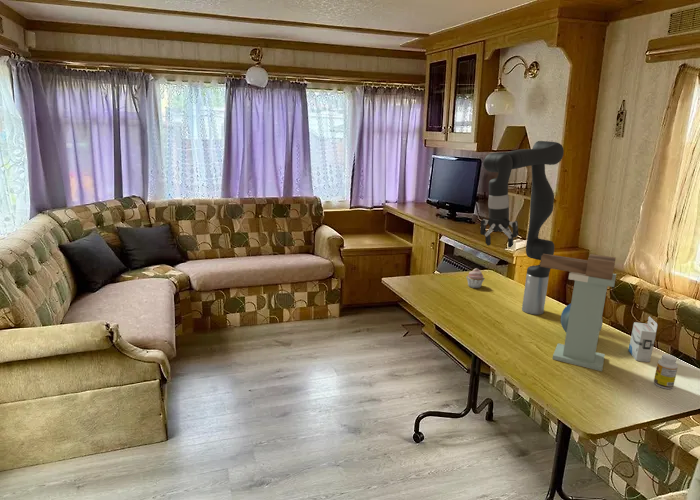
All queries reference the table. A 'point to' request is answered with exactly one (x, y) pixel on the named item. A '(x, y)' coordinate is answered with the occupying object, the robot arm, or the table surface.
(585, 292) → the stand
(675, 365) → the supplement bottle
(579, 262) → the walnut block
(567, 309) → the decorative ball
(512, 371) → the table surface
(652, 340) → the ink box
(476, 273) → the cupcake
